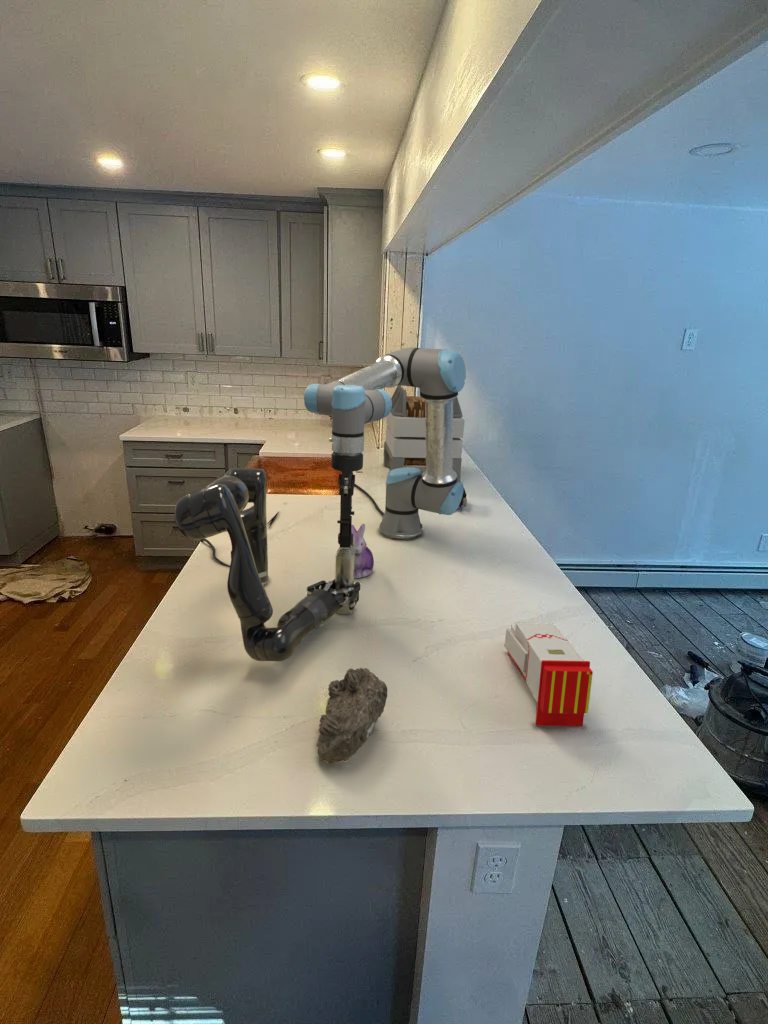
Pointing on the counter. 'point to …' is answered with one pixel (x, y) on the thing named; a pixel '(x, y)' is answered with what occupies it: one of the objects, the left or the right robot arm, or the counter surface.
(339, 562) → the bottle
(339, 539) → the cap
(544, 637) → the toy
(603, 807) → the counter surface
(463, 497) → the figurine character
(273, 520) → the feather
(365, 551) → the figurine
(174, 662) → the counter surface
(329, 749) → the fossil
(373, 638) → the counter surface
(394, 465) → the grey wooden crate
